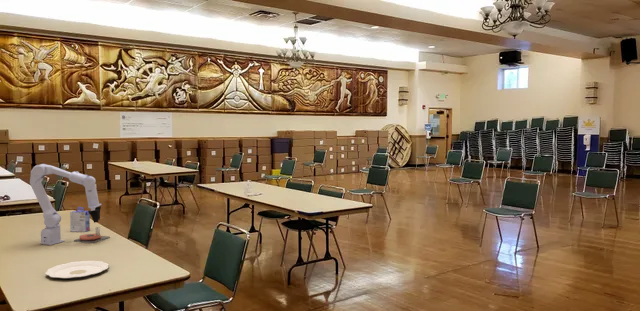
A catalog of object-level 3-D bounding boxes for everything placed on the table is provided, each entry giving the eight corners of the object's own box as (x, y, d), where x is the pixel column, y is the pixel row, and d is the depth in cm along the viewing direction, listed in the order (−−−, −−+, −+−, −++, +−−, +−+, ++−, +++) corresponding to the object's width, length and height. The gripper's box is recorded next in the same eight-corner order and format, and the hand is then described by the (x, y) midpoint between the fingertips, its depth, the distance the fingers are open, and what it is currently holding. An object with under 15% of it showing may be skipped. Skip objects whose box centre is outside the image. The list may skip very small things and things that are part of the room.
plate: (92, 261, 232) (92, 257, 231) (119, 271, 216) (119, 267, 216) (36, 273, 212) (36, 269, 212) (60, 285, 196) (60, 281, 196)
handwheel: (77, 240, 266) (76, 230, 266) (82, 236, 277) (81, 226, 277) (98, 239, 269) (98, 229, 268) (102, 235, 280) (102, 225, 279)
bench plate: (93, 243, 266) (93, 241, 266) (73, 241, 270) (73, 239, 270) (109, 237, 278) (109, 236, 278) (90, 236, 282) (90, 234, 282)
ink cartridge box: (90, 230, 299) (89, 207, 298) (86, 232, 293) (85, 208, 292) (74, 229, 299) (74, 206, 298) (70, 231, 293) (69, 208, 292)
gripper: (98, 197, 265) (103, 221, 266) (101, 194, 278) (105, 217, 280) (84, 200, 263) (89, 224, 264) (88, 197, 276) (92, 219, 278)
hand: (97, 221), depth 272 cm, fingers open, 7 cm apart
